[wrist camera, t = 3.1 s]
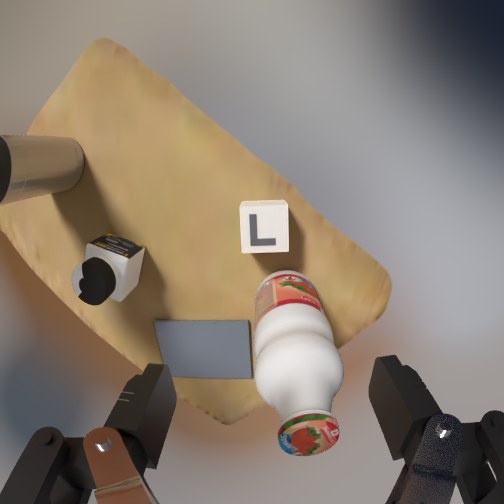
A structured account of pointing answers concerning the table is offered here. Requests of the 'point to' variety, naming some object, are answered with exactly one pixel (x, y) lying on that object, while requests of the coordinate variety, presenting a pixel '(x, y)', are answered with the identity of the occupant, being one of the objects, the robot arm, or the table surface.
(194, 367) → the slate mat
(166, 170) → the table surface
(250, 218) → the letter cube
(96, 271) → the medicine bottle
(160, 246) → the table surface
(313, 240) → the table surface
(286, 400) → the white plastic bottle
